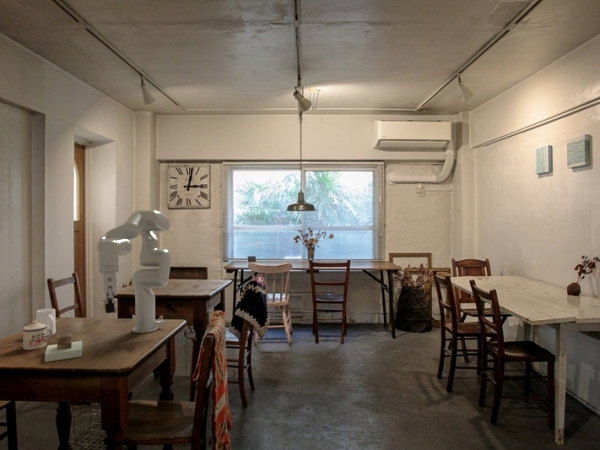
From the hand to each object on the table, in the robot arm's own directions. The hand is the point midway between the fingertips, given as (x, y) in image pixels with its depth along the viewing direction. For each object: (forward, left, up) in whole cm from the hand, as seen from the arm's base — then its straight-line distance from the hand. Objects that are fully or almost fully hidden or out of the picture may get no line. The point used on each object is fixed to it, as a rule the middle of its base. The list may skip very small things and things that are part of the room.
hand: (109, 310), depth 166 cm
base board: (+17, -8, -18) cm, 26 cm away
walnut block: (+17, -8, -15) cm, 24 cm away
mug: (+26, -46, -18) cm, 56 cm away
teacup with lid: (+28, -27, -18) cm, 43 cm away
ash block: (0, 0, -1) cm, 1 cm away
